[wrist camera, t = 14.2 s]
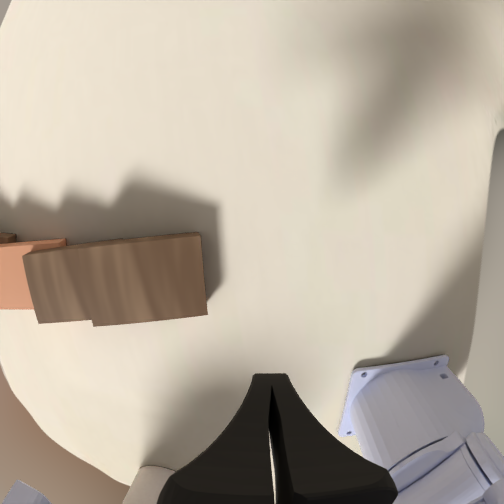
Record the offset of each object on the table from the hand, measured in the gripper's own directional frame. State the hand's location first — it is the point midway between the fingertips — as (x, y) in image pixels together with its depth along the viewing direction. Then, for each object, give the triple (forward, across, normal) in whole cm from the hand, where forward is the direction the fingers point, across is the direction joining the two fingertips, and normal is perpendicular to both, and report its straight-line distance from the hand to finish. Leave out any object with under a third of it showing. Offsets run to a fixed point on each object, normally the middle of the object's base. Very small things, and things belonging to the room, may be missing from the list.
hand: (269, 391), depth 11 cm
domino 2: (+8, +9, -2) cm, 12 cm away
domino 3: (+8, +4, -3) cm, 9 cm away
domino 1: (+8, +15, -2) cm, 17 cm away
